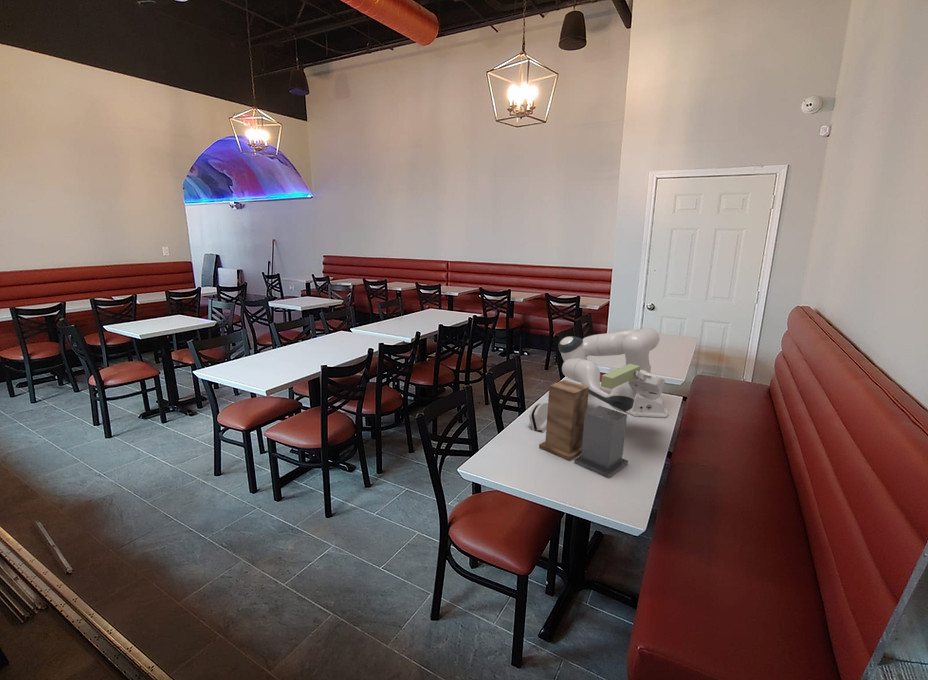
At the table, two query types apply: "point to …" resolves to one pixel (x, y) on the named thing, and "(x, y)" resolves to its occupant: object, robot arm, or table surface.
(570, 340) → the robot arm
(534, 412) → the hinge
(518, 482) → the table surface
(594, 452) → the block
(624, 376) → the pale green plank
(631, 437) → the table surface
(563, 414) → the brown wooden pedestal
